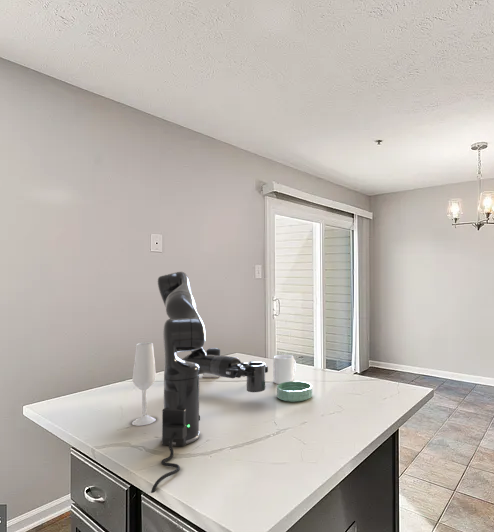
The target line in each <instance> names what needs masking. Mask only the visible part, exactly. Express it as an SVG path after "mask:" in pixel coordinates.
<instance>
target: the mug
mask: <svg viewBox="0 0 494 532" xmlns="http://www.w3.org/2000/svg"><path fill="white" fill-rule="evenodd" d="M272 361H273V364H272V366H273V369H272V370H273V376H272V377H273V379H272V381H273V383H274V384H276V385H278V384H280V383H284V382H289V381H295V375H296V372H297V361H296V359H295V356H294V355H293V354H284V353H283V354H276V355H273V360H272Z"/></svg>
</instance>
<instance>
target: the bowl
mask: <svg viewBox="0 0 494 532" xmlns="http://www.w3.org/2000/svg"><path fill="white" fill-rule="evenodd" d="M312 397H313V384H312V383H311V382H307V381H302V380H294V381H289V382H284V383H280V384H276V398H277V399H279V400H281V401H284V402H292V403H296V402H303V401H306V400H308V399H311V398H312Z"/></svg>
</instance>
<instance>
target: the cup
mask: <svg viewBox="0 0 494 532" xmlns="http://www.w3.org/2000/svg"><path fill="white" fill-rule="evenodd" d="M247 363H248V364H247V369H248V370H255V377H248V376H246V392H248V393H261V392H263V391H265V390H266V373H265V366H266V363H265V362H264V361H263V362H262V361H251V363H249V362H247Z"/></svg>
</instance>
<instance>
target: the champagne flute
mask: <svg viewBox="0 0 494 532" xmlns="http://www.w3.org/2000/svg"><path fill="white" fill-rule="evenodd" d="M154 349H155V348H154V342H149V341H146V342H138V343H136V344H135V350H134V351H135V352H134V360H133V368H132V369H133V370H132V383H133V385H134V386H135V387H136V388H138V389H139V390H141V415H140V416H138V417H137V418H136V419H135V420H133V421H132V422H131V424H132V425H133V426H137V427H139V426H147V425H150V424H153V423H154V422H156V420H157V419H156V417H153V416H151V415H149V414H147V390H148V389H149V388H150V387H152V385H153V384H154V383H155V382H156V381H157V372H156V361H155V350H154Z"/></svg>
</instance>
